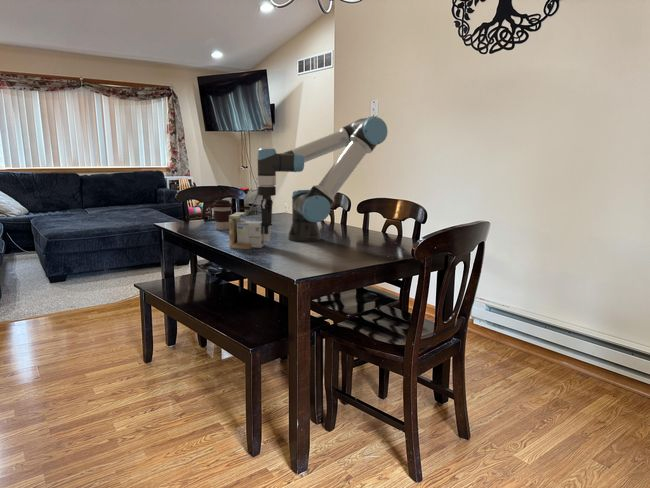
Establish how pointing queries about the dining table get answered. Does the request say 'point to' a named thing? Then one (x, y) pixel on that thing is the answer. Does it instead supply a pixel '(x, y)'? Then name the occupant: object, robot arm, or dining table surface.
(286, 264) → the dining table surface
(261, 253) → the dining table surface
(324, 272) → the dining table surface
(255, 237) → the light bulb box
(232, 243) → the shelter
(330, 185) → the robot arm
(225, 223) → the coffee cup
